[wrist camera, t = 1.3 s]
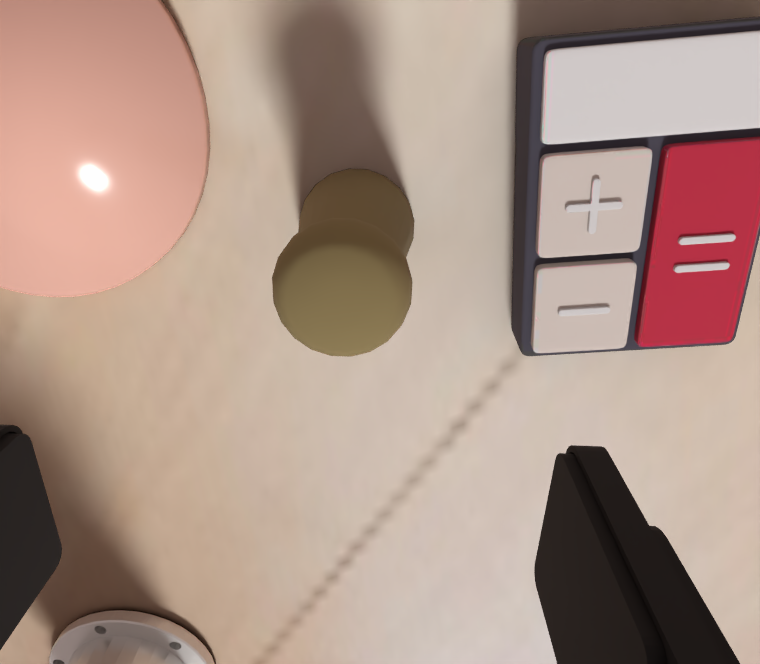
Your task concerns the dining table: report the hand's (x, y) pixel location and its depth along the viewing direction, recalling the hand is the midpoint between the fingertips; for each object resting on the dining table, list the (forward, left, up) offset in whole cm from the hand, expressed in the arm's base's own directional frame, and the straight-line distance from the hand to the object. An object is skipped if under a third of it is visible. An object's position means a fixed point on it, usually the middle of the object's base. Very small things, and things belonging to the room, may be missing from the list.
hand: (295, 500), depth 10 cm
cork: (0, 0, -21) cm, 21 cm away
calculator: (+11, -8, -22) cm, 26 cm away
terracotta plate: (-8, +15, -21) cm, 27 cm away
